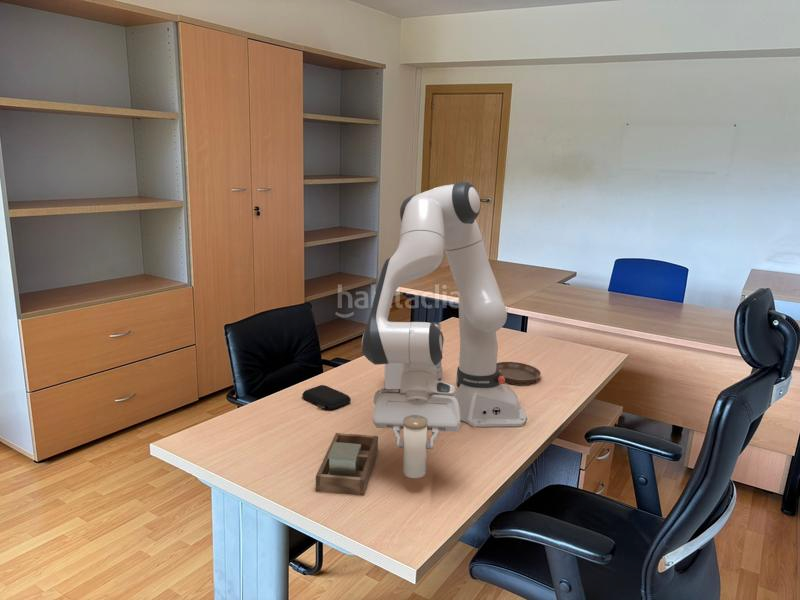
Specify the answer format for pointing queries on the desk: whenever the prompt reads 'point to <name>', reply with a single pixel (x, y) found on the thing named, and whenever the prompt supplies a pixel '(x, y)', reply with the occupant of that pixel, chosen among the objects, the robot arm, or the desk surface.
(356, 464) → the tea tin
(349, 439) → the crate
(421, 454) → the lidded white canister
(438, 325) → the plastic bottle
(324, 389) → the carrying case or bag
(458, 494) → the desk surface
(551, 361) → the desk surface
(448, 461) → the desk surface
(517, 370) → the plant saucer
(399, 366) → the milk carton
